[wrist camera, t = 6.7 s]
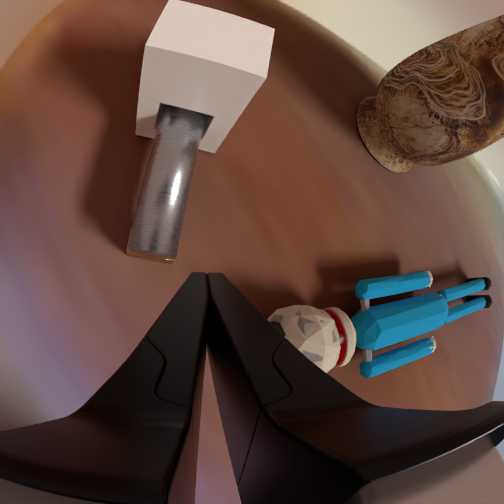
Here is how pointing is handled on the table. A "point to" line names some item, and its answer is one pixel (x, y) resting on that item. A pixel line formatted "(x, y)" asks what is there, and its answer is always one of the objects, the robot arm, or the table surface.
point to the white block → (202, 68)
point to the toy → (378, 322)
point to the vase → (439, 101)
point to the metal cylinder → (166, 186)
